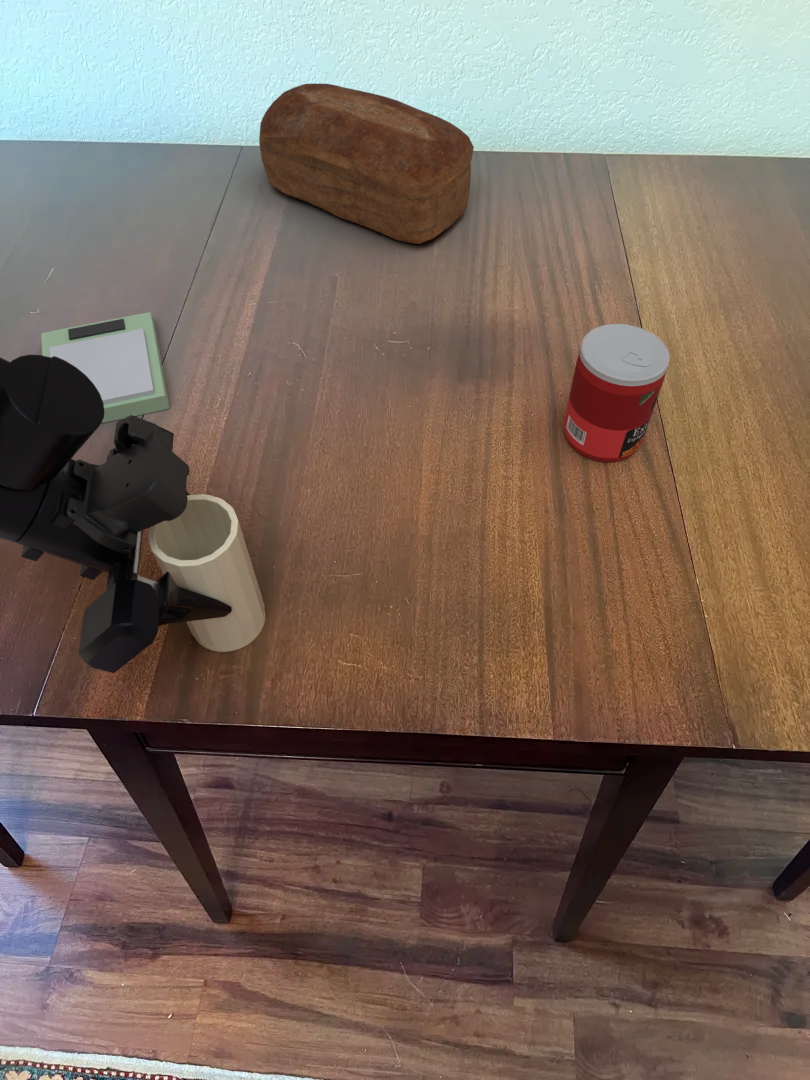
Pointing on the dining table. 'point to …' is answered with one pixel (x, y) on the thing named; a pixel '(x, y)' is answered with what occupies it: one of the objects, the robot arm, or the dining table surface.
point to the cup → (212, 569)
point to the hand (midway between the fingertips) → (229, 575)
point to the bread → (367, 159)
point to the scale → (116, 362)
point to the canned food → (614, 391)
